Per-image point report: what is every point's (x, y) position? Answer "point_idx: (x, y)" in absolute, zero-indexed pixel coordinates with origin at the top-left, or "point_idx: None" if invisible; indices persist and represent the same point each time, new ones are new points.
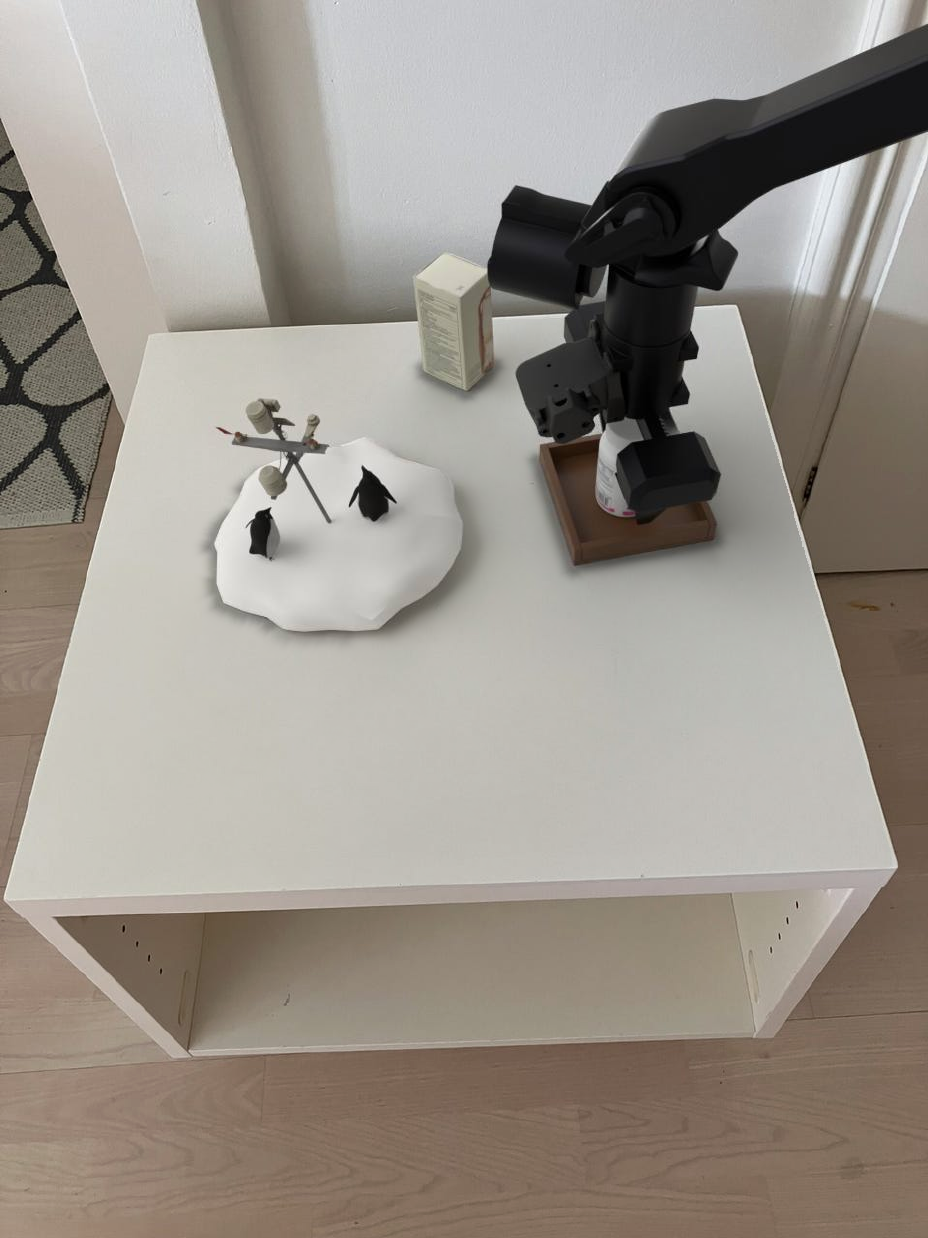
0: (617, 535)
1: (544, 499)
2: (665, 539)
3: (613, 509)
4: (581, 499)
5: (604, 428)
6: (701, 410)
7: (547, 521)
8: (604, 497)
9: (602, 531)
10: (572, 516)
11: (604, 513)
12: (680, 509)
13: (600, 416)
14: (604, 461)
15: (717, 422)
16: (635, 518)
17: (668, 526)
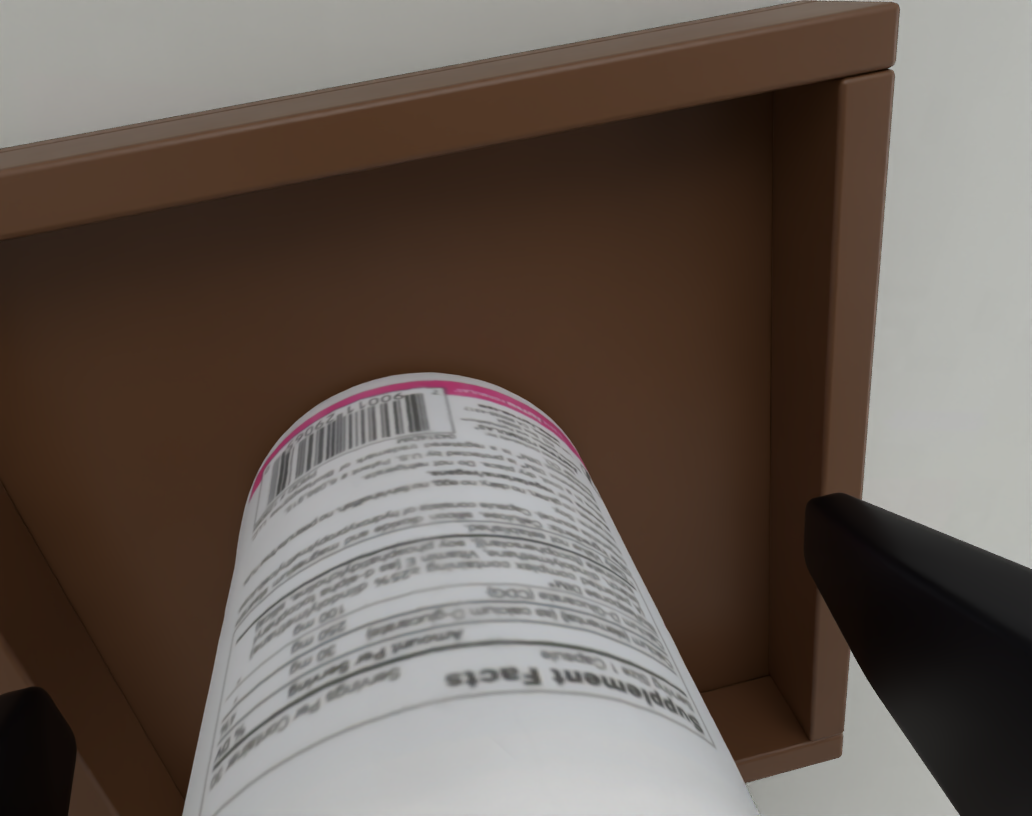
0: (108, 479)
1: (439, 8)
2: None
3: (253, 493)
4: (404, 279)
5: (857, 548)
6: (887, 761)
7: (221, 13)
8: (294, 475)
9: (130, 397)
10: (249, 210)
11: (287, 411)
12: None
13: (955, 599)
14: (307, 743)
15: (811, 806)
16: (7, 710)
17: None
